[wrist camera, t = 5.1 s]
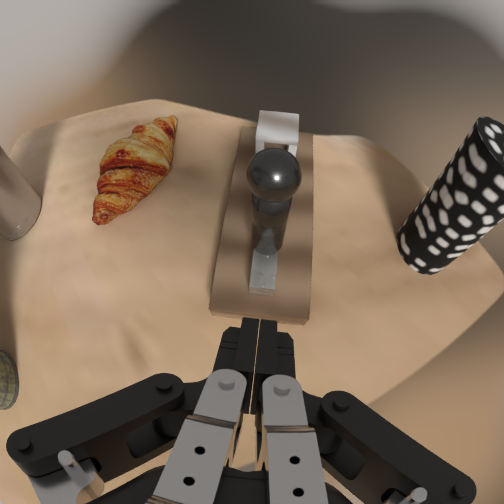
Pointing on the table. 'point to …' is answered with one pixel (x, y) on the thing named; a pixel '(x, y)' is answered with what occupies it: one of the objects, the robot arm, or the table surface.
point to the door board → (239, 232)
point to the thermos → (8, 381)
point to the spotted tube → (458, 202)
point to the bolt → (270, 211)
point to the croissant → (133, 168)
